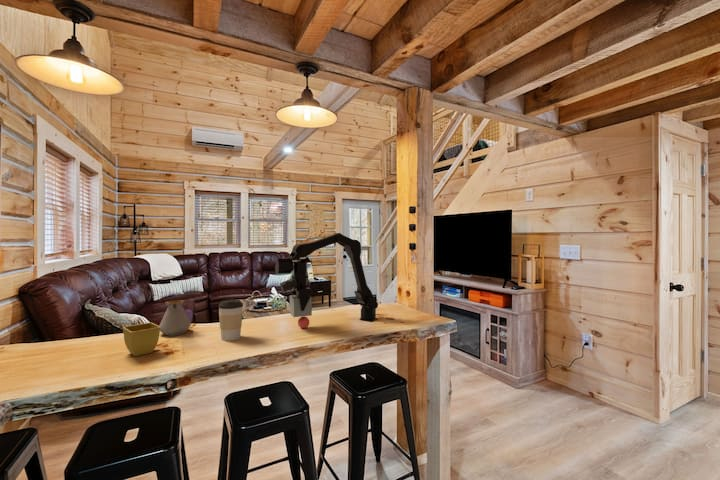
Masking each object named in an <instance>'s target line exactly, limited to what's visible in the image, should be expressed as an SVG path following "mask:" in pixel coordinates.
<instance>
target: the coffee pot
mask: <svg viewBox="0 0 720 480" xmlns="http://www.w3.org/2000/svg"><path fill="white" fill-rule="evenodd" d="M184 302H185V301H184V300H183V299H173V300H169V301H168V300H167V301H165V302H164V304H165V305H166V306H167V308H166V311H165V312H164V315H163V317H162V319H161V321H160V323H159V325H158V326H160V333H162V334H163V335H165V336H170V337H171V336H178V335H182V334H185V333H186V332H187V331H188V330H189V329H190V327H191V324H192V323H191V322H190V319H189V318H188V315H187V313H186V311H185V309H184V307H183V303H184Z"/></svg>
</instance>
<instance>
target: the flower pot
mask: <svg viewBox="0 0 720 480" xmlns="http://www.w3.org/2000/svg"><path fill="white" fill-rule="evenodd" d="M122 333H123V339H124V344H125V346H126V349H127V350H128V351H129V353H130V354H131V355H133V356H134V357H138V356H141V355H147V354H151V353H153V352H154V350H155V349H156V347H157V345H158V343H159V340H160V339H159V338H160V333H161V331H160V326H159V325H158V324H156V323H154V322H145V323H140V324H133V325H132V324H131V325H127V326H122Z"/></svg>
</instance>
